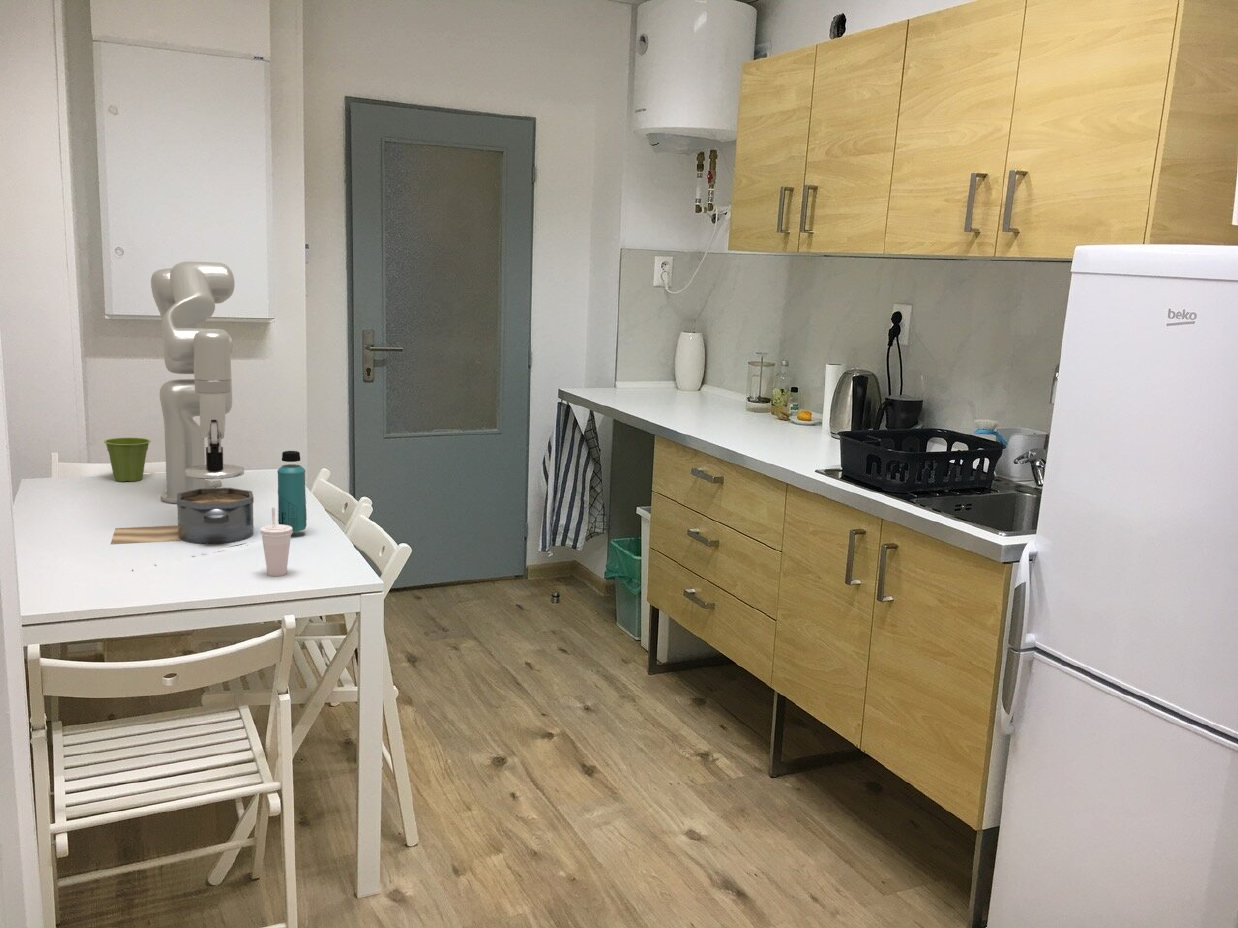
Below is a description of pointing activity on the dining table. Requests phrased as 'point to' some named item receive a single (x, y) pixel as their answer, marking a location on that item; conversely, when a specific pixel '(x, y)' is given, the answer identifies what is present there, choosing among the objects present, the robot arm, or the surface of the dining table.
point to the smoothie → (276, 546)
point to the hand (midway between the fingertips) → (214, 467)
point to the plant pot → (127, 457)
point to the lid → (204, 473)
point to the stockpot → (215, 515)
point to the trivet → (145, 534)
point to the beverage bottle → (292, 493)
